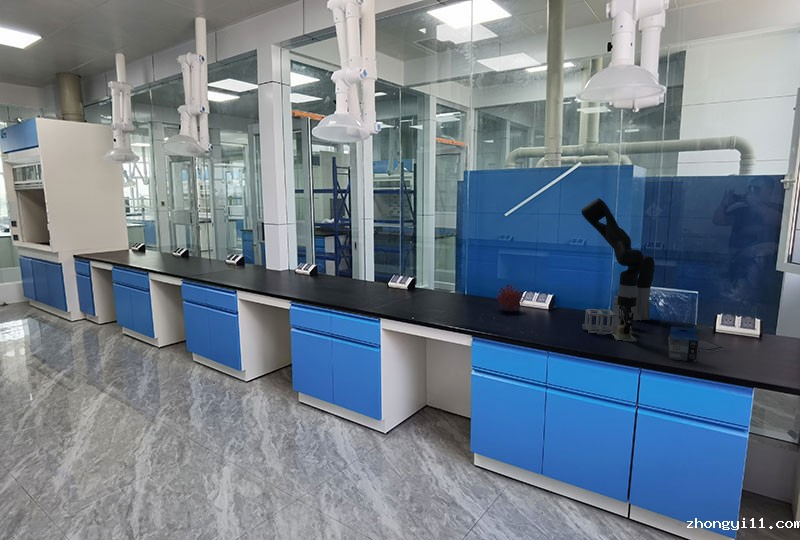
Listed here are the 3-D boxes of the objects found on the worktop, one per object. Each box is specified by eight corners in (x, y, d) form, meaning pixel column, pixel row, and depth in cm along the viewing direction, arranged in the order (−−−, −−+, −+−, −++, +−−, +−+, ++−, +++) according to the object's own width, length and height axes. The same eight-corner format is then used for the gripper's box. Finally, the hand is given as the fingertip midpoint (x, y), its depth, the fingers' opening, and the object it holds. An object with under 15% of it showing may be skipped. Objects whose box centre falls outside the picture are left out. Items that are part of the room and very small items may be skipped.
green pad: (631, 336, 204) (631, 335, 204) (636, 341, 196) (636, 340, 196) (612, 335, 206) (612, 334, 206) (616, 340, 198) (616, 339, 198)
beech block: (627, 335, 203) (628, 324, 202) (630, 338, 198) (631, 327, 197) (615, 335, 204) (616, 324, 203) (618, 338, 199) (619, 327, 198)
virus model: (493, 313, 247) (494, 286, 245) (498, 307, 261) (499, 281, 258) (521, 315, 242) (522, 288, 239) (524, 309, 255) (525, 283, 253)
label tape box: (669, 359, 174) (672, 328, 172) (667, 356, 178) (670, 326, 176) (696, 362, 171) (699, 331, 169) (693, 359, 175) (696, 328, 173)
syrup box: (622, 327, 219) (624, 298, 217) (611, 324, 224) (613, 295, 222) (629, 326, 222) (632, 297, 219) (619, 323, 227) (621, 294, 225)
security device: (733, 357, 178) (733, 352, 178) (668, 348, 189) (668, 344, 189) (727, 346, 193) (728, 342, 192) (667, 338, 204) (668, 334, 203)
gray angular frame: (612, 329, 215) (613, 310, 214) (617, 335, 206) (619, 314, 205) (584, 328, 218) (585, 308, 216) (588, 333, 208) (589, 313, 207)
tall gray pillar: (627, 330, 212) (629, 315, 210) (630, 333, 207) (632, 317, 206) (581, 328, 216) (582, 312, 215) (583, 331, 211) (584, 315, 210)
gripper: (614, 291, 206) (611, 327, 208) (622, 297, 192) (619, 336, 194) (631, 292, 204) (628, 328, 207) (641, 298, 190) (638, 337, 193)
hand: (624, 331), depth 201 cm, fingers open, 6 cm apart
